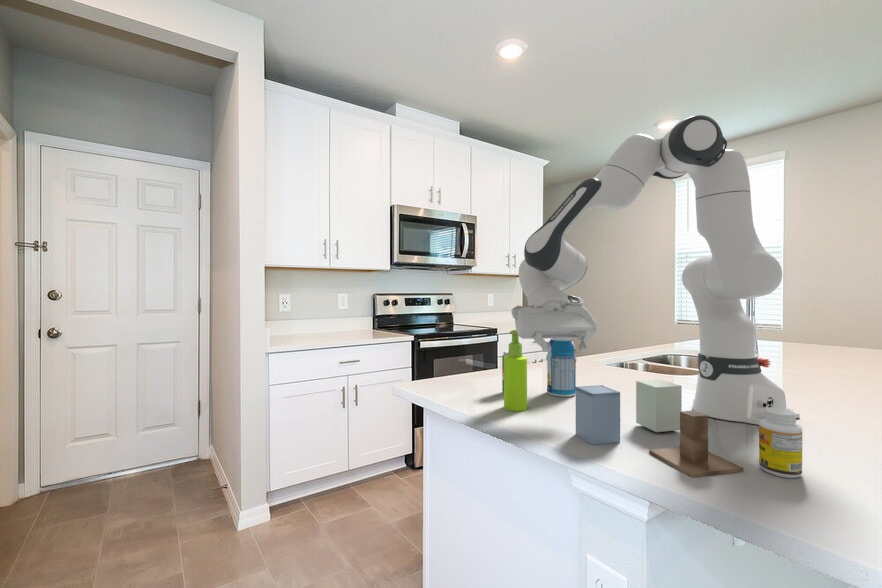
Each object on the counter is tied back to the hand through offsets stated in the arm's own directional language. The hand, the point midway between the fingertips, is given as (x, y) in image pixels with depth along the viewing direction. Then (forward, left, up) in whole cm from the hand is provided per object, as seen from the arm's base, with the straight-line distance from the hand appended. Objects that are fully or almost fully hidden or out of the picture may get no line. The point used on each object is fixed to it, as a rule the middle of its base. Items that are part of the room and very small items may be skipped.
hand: (566, 350), depth 96 cm
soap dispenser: (+8, -12, -17) cm, 22 cm away
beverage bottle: (-10, -22, -17) cm, 29 cm away
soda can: (+4, -26, -17) cm, 31 cm away
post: (-10, +26, -16) cm, 33 cm away
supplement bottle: (-21, +33, -17) cm, 42 cm away
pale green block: (-16, +10, -16) cm, 25 cm away
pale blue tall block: (0, +12, -16) cm, 20 cm away
